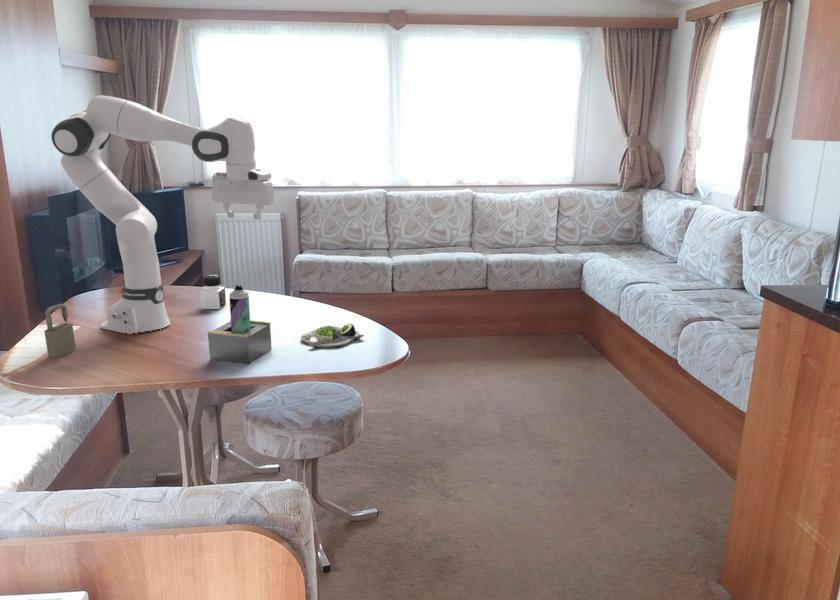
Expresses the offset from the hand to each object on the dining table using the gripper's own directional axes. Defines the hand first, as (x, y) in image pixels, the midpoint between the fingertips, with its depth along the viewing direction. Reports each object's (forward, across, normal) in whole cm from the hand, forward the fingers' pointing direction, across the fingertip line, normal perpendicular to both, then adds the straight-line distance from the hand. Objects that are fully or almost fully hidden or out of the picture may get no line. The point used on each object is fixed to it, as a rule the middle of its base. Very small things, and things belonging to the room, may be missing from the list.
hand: (243, 218), depth 208 cm
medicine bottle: (+38, -30, +24) cm, 54 cm away
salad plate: (+38, +27, +4) cm, 47 cm away
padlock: (+39, -44, -33) cm, 67 cm away
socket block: (+38, +8, -18) cm, 43 cm away
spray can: (+37, +8, -18) cm, 42 cm away
